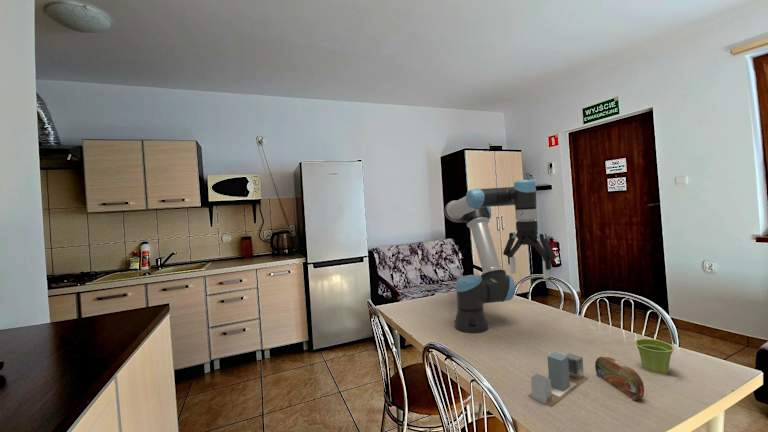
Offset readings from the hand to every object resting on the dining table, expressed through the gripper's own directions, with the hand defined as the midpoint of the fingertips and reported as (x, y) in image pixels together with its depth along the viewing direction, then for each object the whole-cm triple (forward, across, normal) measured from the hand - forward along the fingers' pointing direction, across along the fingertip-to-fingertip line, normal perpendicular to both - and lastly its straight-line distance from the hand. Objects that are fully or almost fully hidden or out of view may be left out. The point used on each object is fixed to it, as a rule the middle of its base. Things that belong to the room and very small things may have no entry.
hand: (529, 275), depth 124 cm
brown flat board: (+28, +21, -21) cm, 41 cm away
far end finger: (+26, +21, -12) cm, 36 cm away
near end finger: (+26, +21, -31) cm, 45 cm away
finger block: (+26, +21, -21) cm, 40 cm away
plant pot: (+28, +35, +11) cm, 46 cm away
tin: (+28, +32, -9) cm, 43 cm away
